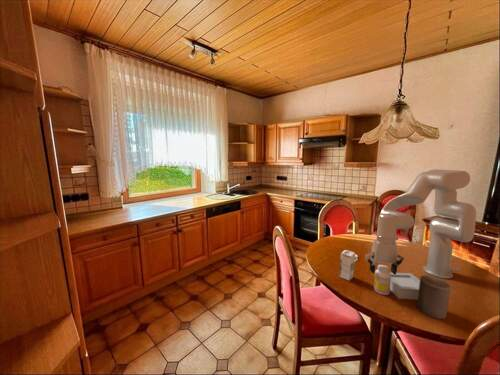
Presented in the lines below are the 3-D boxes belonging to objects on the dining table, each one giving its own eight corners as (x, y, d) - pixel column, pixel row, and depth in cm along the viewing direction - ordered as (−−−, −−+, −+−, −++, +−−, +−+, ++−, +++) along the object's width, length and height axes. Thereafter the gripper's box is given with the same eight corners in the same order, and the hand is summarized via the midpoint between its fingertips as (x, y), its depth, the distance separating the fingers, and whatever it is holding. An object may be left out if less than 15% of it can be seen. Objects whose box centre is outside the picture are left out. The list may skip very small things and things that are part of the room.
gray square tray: (410, 282, 109) (411, 273, 108) (430, 300, 95) (431, 290, 94) (382, 280, 110) (383, 272, 110) (398, 298, 97) (399, 288, 96)
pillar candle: (412, 308, 90) (416, 276, 88) (422, 300, 95) (426, 270, 93) (441, 323, 82) (446, 288, 80) (450, 313, 87) (455, 280, 85)
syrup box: (343, 272, 118) (344, 249, 116) (353, 277, 114) (355, 252, 112) (338, 277, 114) (340, 252, 112) (350, 281, 110) (351, 256, 108)
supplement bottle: (374, 285, 107) (376, 262, 105) (390, 290, 102) (392, 266, 101) (372, 291, 102) (374, 267, 100) (388, 297, 97) (390, 272, 96)
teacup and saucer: (356, 256, 139) (356, 250, 138) (361, 262, 131) (361, 256, 130) (342, 255, 140) (342, 250, 139) (346, 261, 132) (347, 255, 131)
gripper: (400, 236, 101) (397, 269, 103) (363, 235, 103) (360, 267, 105) (410, 243, 93) (406, 277, 96) (370, 241, 95) (367, 275, 98)
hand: (382, 272), depth 100 cm, fingers open, 9 cm apart
